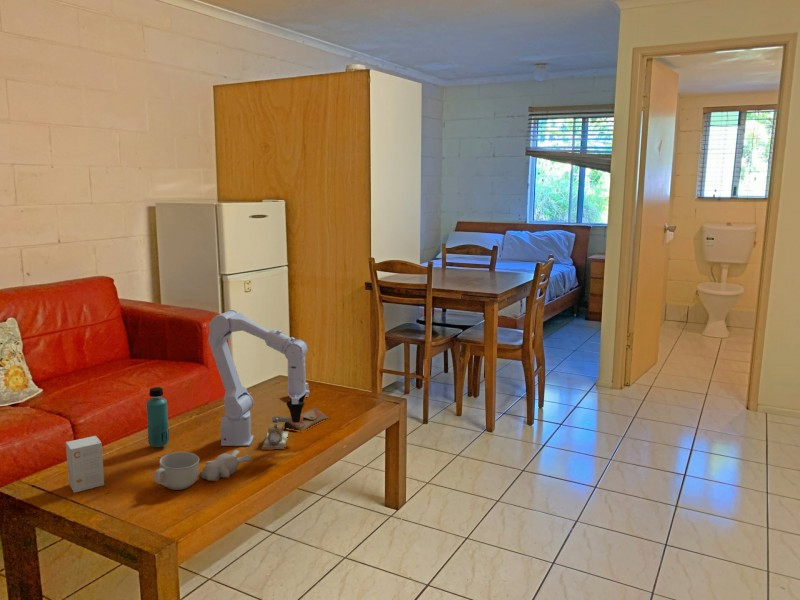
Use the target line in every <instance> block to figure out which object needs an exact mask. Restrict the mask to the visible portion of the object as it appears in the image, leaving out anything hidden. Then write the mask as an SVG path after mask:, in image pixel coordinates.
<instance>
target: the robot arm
mask: <svg viewBox="0 0 800 600" xmlns="http://www.w3.org/2000/svg"><path fill="white" fill-rule="evenodd" d="M208 328H209V333H208V344H209V347H210V350H211V353H212V356H213V359H214V361H215V364H216V368H217V370H218V373H219V376H220V379H221V382H222V385H223V389H224V390H225V393H224V397H223V403H224V414H225V415H223V416H222V417H221V421H220V446H224V447H226V446H228V447H229V446H231V447H233V446H234V447H241V446H242V447H244V446H245V447H246V446H248V447H249V446H251V444H252V441H253V440H254V437H255V436H254V435H253V434H252V433H251V432H252V430H251V429H252V425H251V424H252V423H251V419H252V418H251V409H252V408H253V406H254V398H253V396H251V394H250V393H249V392H248V389H247V388H246V387H245V386H243V385H242V383H241V380H240V376H239V374H238V370H237V369H236V365H235V361H234V358H233V355H232V354H231V350H230V347H229V343H228V339H229V338H230V336H231V334H232V333H235V332H240V331H241V332H242V331H243V332H245V333H247V334H249V335H252V336H255V337H256V338H259V339H261V340H263V341H264V342H265V344H266V346H267V347H268V348H271V349H273V350H275V351H277V352H278V353H281V354H283V355H284V356H285V358H286V359H287V390H286V391H287V392H286V393H287V395H288V397H289V398H290V400H286V406H287V408H288V410H289V414H290V417H291V418H292V422H293V423H299V421H300V416H301V413H302V410H303V407H304V405H305V403H306V402H305V401H304V400H305V399H306V398H305V396H306V394H310V389H309V390H306V383H307V381H306V377H307V375H306V370H307V369H306V355H307V353H308V351H309V346H308V343H306V341H304V340H303V339H301V338H298V339H297V338H295V337H293V336H291V337H290V336H289V335H287V334H284V333H283V330H281V329H273V330H269V329H267V328H266V327H263V326H262V325H260V324H259V323H257V322H255V321H253V320H251V319H250V318H249V317H247V316H245V315H244V313H241V312H238V311H237V310H234V309H229V310H227V311H225V312H223V313H220V314H217V315H215V316H213V317H212V318H211V320H210V322H209V323H208ZM304 398H305V399H304Z"/></svg>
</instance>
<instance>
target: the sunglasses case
mask: <svg viewBox="0 0 800 600" xmlns="http://www.w3.org/2000/svg"><path fill="white" fill-rule="evenodd" d="M301 416H303V423H291V422H284V424H283V428H284V429H285V428H289V429H294V430H300V431H301V430H306V429H308V428H310V427H311V426H313V425H315V424H317V423H319V422H321V421H323V420H326V419H328V418H329V416H328V415H326V414H325V413H323V411H321V410H319V409H318V408H317V407H316V406H314V407H313V408H311V409H308V410H305V411H303V412H301ZM326 421H327V420H326Z"/></svg>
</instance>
